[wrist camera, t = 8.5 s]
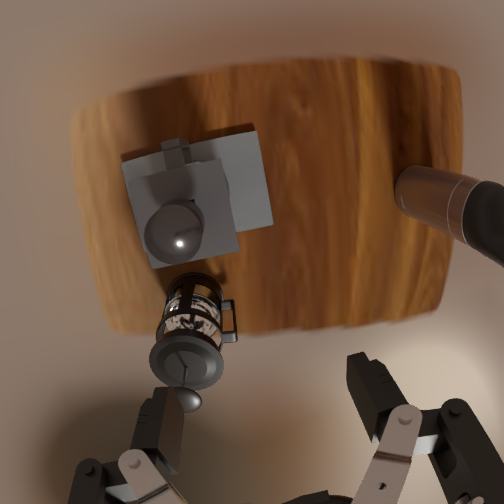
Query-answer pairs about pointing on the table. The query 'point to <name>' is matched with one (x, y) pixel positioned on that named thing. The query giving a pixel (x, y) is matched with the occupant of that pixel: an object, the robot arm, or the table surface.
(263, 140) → the table surface
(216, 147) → the slate board
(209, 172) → the carafe
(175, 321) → the french press
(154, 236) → the plunger
